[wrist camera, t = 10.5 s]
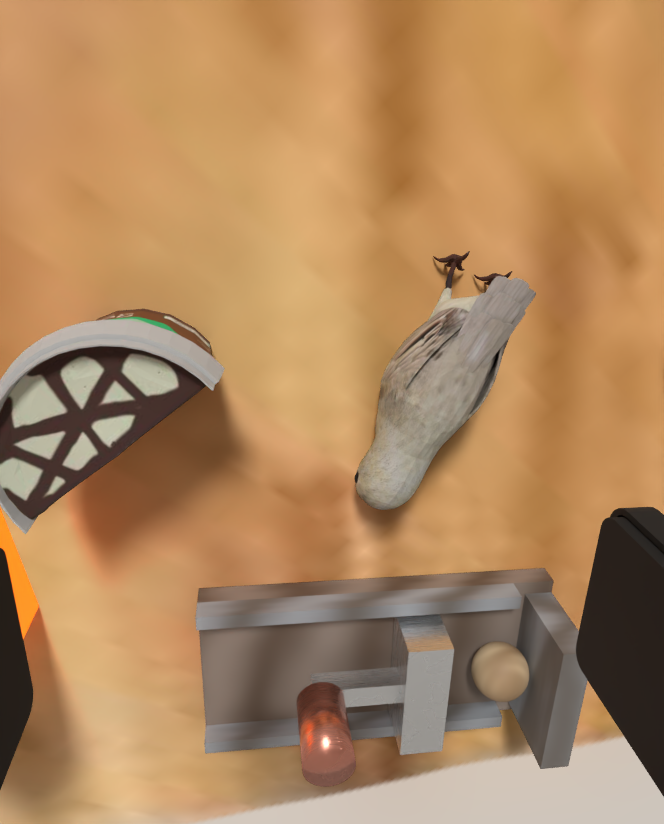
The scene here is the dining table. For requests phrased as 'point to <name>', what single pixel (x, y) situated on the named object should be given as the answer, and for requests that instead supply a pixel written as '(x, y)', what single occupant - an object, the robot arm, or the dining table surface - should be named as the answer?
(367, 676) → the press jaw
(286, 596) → the nut press
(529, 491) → the dining table surface
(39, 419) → the food container
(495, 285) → the decorative bird
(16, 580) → the orange juice
